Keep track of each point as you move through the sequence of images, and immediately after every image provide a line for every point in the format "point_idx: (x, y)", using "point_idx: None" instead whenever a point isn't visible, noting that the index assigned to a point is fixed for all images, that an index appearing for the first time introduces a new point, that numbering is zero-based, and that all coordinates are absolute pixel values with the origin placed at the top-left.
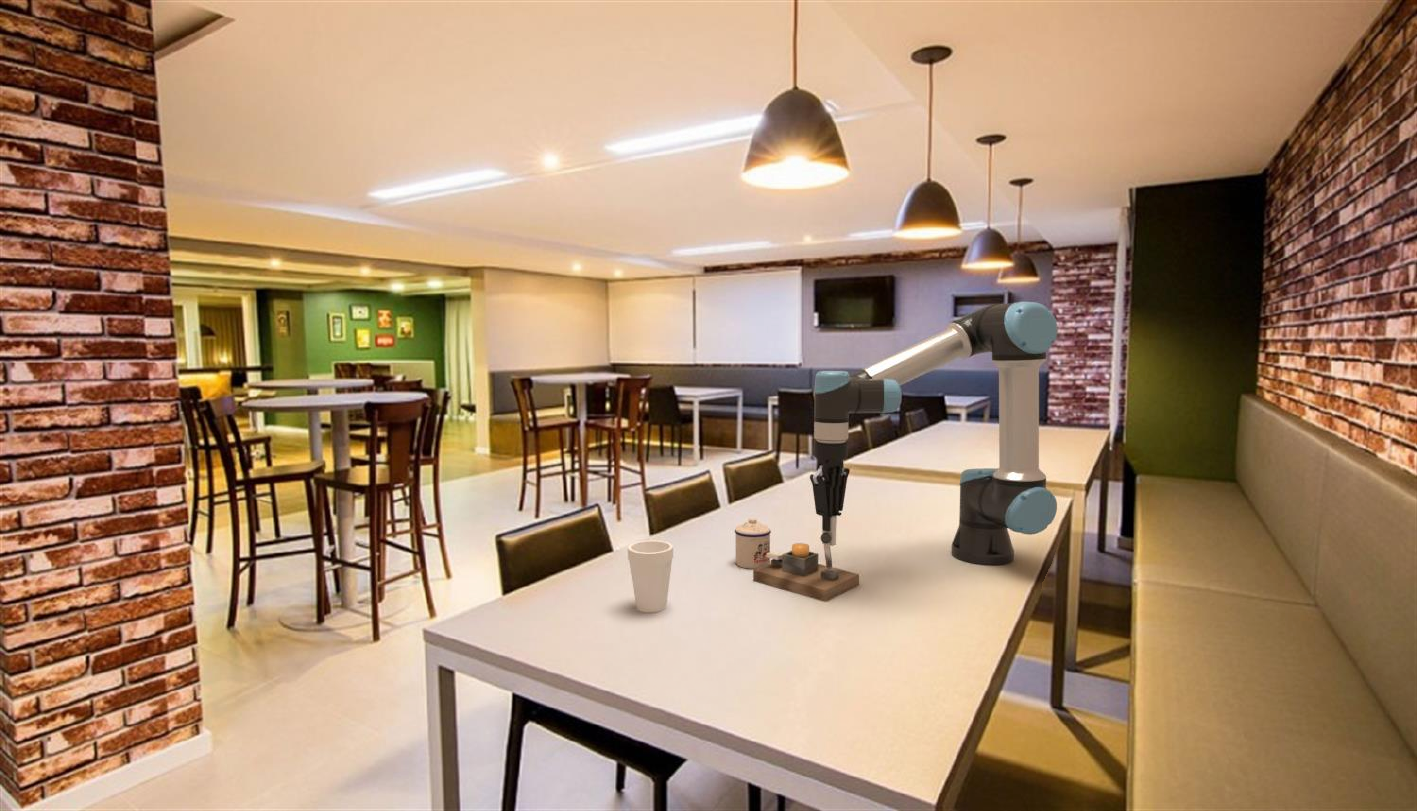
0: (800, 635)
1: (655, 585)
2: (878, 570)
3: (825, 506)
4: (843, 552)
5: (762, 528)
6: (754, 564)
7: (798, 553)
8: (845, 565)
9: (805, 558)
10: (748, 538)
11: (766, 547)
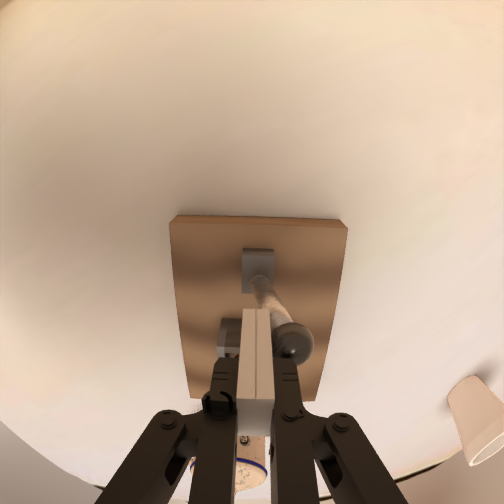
0: (491, 179)
1: (496, 396)
2: (68, 232)
3: (367, 459)
4: (53, 336)
5: None
6: None
7: None
8: (97, 303)
9: None
10: (262, 464)
11: None
